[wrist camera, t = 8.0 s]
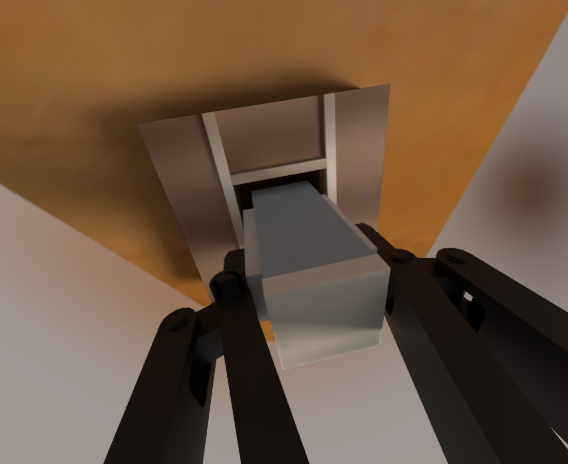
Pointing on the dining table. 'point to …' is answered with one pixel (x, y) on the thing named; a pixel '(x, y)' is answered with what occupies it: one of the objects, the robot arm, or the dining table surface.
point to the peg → (316, 277)
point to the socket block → (268, 162)
